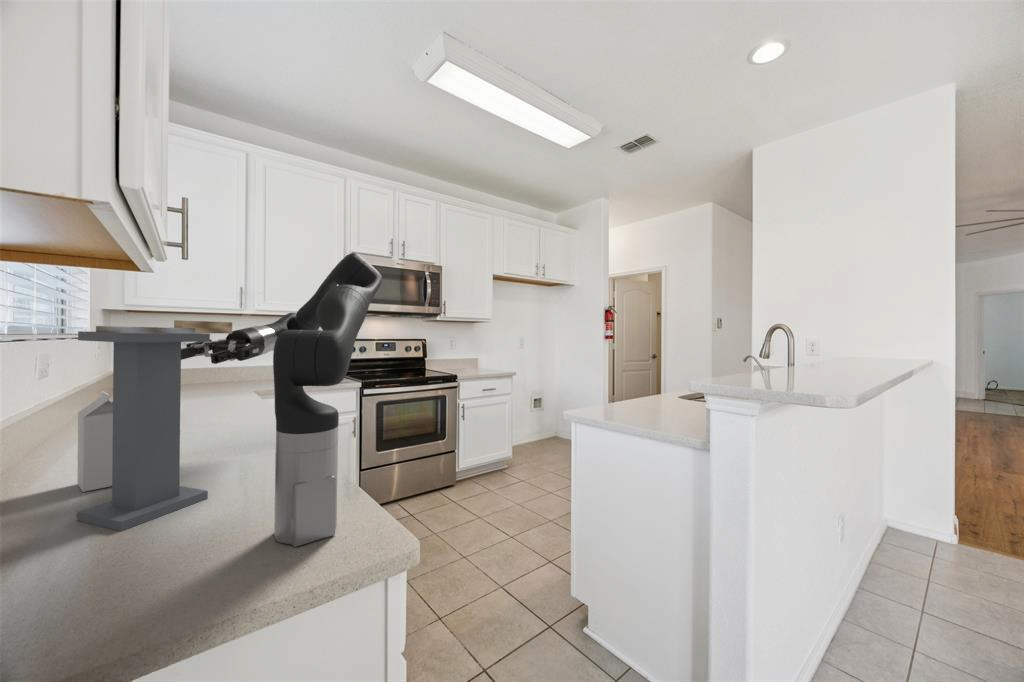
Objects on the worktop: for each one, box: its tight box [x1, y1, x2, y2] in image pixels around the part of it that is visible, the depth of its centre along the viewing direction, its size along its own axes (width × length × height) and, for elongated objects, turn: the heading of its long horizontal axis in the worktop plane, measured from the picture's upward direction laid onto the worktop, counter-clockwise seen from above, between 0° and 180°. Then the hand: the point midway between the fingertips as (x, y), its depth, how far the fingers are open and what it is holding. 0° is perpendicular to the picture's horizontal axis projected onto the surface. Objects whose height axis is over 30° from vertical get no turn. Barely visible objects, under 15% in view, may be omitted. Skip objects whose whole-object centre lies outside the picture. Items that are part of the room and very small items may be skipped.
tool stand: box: [76, 331, 211, 532], centre depth 74 cm, size 14×11×32 cm
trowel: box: [95, 319, 233, 334], centre depth 78 cm, size 21×6×2 cm, turn 163°
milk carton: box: [77, 390, 113, 493], centre depth 86 cm, size 7×7×19 cm
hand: (195, 357), depth 88 cm, fingers open, 8 cm apart
